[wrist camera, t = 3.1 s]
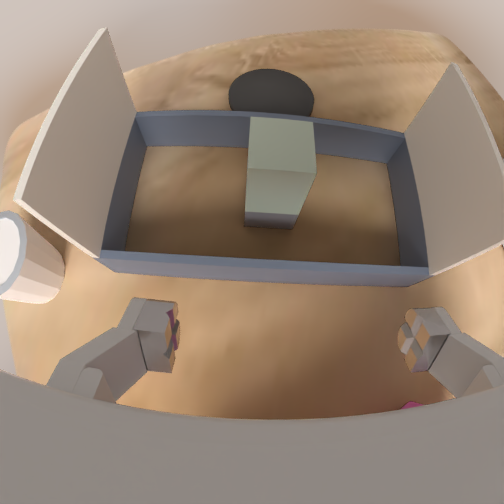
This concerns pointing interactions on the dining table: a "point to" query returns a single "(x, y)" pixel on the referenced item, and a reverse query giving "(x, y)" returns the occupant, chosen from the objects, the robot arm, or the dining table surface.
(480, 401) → the robot arm
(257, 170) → the box
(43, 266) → the white cup
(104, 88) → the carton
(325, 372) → the dining table surface
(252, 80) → the coaster
